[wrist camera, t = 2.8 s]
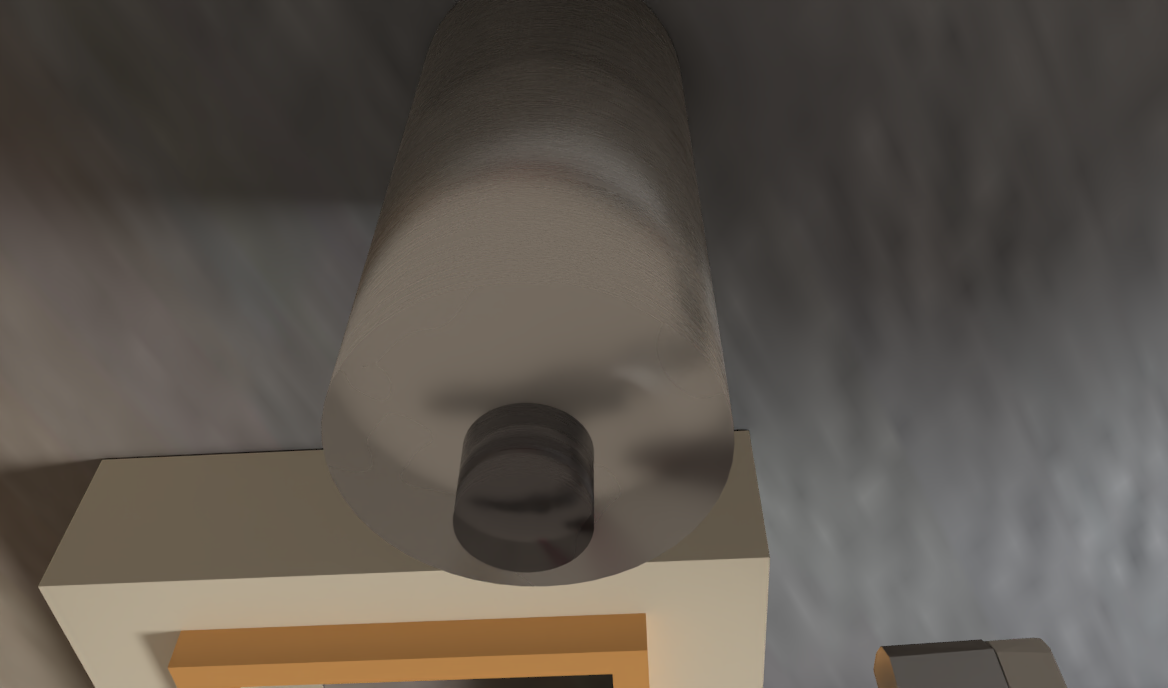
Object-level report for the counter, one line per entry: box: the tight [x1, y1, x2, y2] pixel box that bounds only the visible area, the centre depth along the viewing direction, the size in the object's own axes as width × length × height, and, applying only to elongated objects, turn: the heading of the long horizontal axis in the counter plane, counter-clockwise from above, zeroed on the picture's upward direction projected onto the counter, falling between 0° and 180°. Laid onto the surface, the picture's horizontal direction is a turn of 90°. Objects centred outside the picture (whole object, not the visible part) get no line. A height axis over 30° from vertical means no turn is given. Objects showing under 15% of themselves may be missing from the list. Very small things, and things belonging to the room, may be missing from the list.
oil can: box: [321, 0, 735, 586], centre depth 17 cm, size 5×5×11 cm
